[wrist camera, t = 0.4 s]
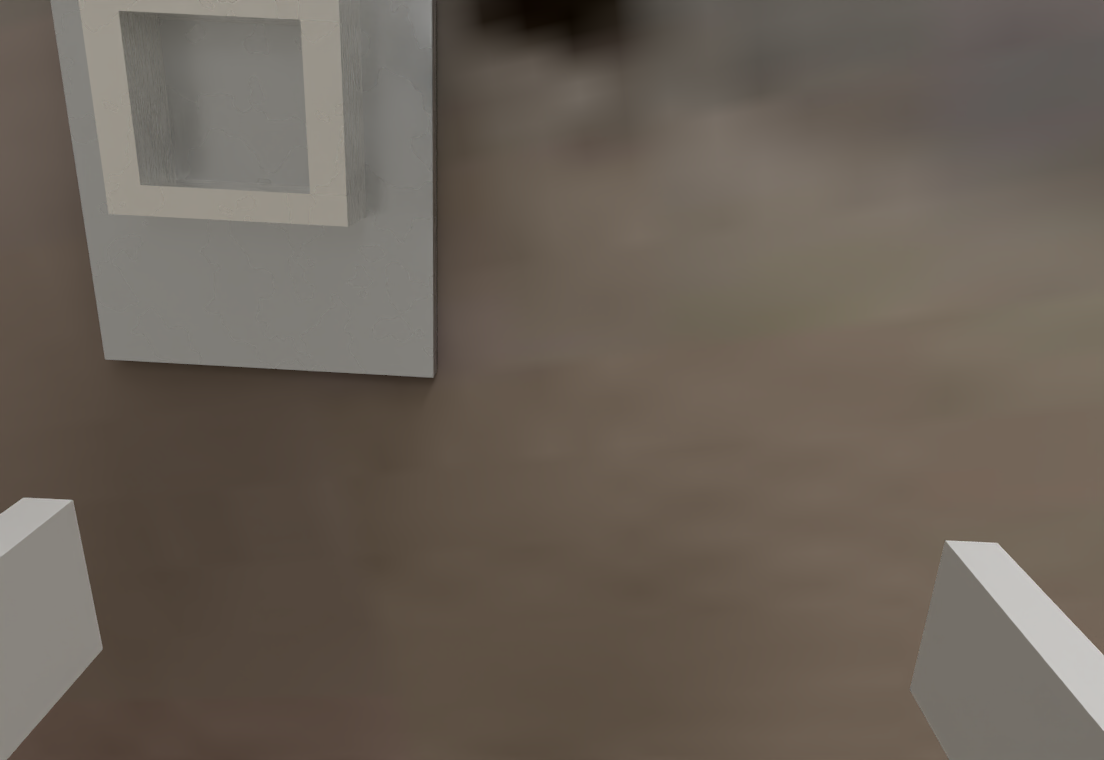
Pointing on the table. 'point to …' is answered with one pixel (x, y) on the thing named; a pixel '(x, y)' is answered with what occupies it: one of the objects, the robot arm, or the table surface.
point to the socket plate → (258, 179)
